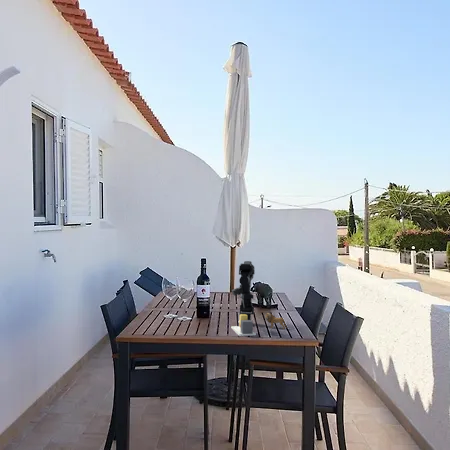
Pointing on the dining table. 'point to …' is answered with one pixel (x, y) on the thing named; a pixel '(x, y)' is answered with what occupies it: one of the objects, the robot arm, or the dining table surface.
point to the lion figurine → (274, 320)
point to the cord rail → (238, 330)
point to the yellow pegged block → (242, 318)
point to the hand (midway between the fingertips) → (245, 308)
